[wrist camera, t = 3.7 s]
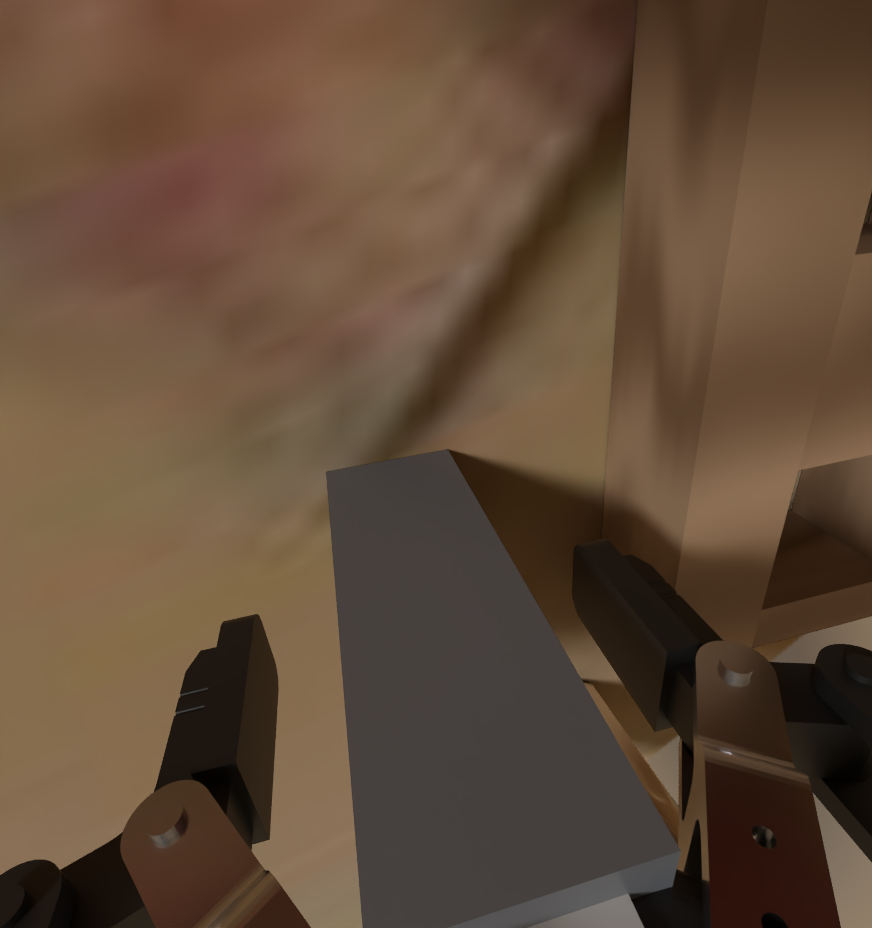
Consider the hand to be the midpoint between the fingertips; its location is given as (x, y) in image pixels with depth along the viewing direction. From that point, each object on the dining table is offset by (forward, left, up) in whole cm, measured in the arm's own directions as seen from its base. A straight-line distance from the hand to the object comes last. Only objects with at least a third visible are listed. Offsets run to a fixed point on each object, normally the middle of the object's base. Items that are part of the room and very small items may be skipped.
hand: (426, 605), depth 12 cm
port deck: (-4, +12, -4) cm, 14 cm away
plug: (0, 0, -4) cm, 4 cm away
